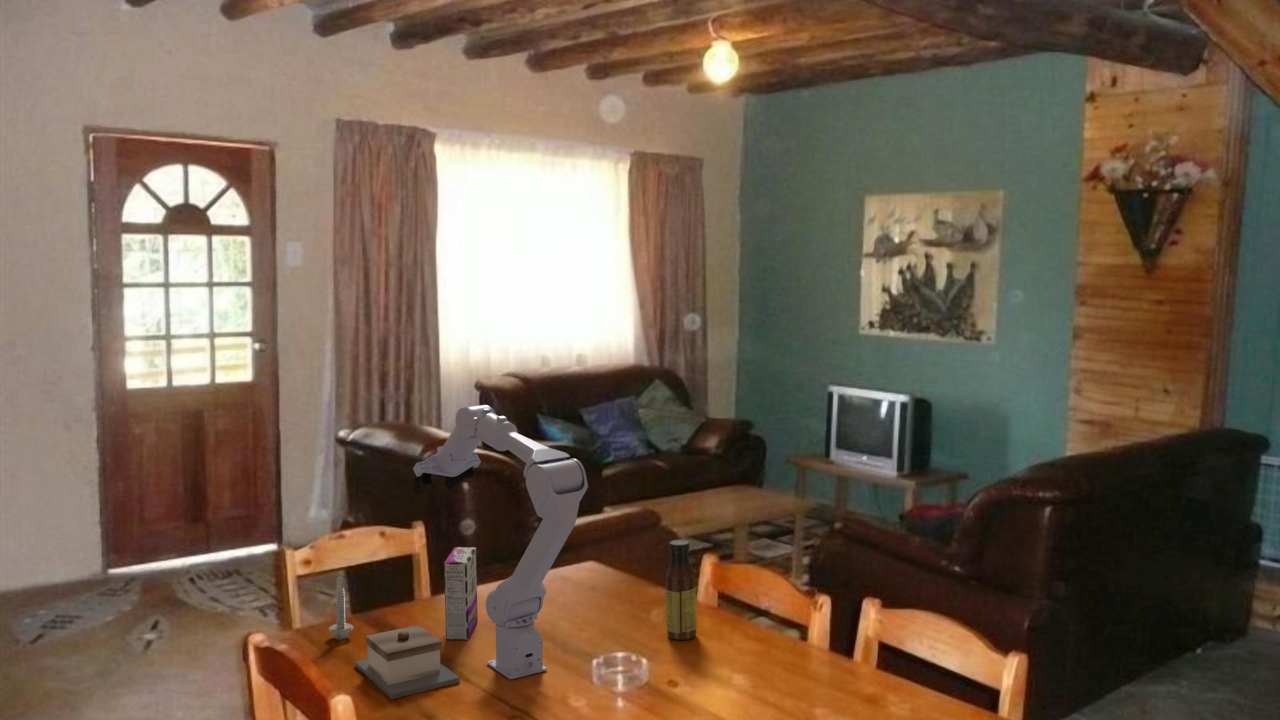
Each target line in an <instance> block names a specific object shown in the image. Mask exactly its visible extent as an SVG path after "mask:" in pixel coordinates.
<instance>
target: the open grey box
mask: <svg viewBox="0 0 1280 720" xmlns="http://www.w3.org/2000/svg"><path fill="white" fill-rule="evenodd" d="M367 659H368V668H370V669H371V670H372V671H373V672H374V673H375V674H377V675H378V676H379V677H380V678H381V679H382V680H383V681H385V682H386V683H387V684H388V685H392V684H396V683H400V682H404V681H408V680H412V679H416V678H421V677H425V676H429V675H433V674H437V673H440V663H441V650H437V651H432V652H428V653H424V654H419V655H415V656H410V657H406V658H402V659H397V660H393V661H388V662H387V661H386V660H385V659H384V658H382V657H381V656H380V655H379V654H378V653H376V652H375V651H374V650H373V649H372V648H370V647H369V646H368V645H367Z"/></svg>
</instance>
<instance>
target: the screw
mask: <svg viewBox="0 0 1280 720" xmlns="http://www.w3.org/2000/svg"><path fill="white" fill-rule="evenodd" d="M344 586H345V585H344V577H343V576H341V575H340V576H337V577H336V588H335V589H336V590H335V592H336V593H335V595H336V596H335V597H336V599H335V600H336V601H335V603H336V604H335V606H336V608H335V612H336V613H335V614H336V616H335V617H336V619H335V620H336V623H335V624H332V625H331V626H329V628H328V632H329V633H330V634H333V635H334V640H335V639H338V640H337V641H343V640H342V639H344V640H347V639H348V637H349V633H350V632H352V631H353V630H354V625H352V624H351V623H348V622H346V602H345V601H346V591H345V587H344ZM346 638H347V639H346Z"/></svg>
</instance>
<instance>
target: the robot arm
mask: <svg viewBox="0 0 1280 720" xmlns="http://www.w3.org/2000/svg"><path fill="white" fill-rule="evenodd" d="M481 442H483V443H485V444H486V445H488V446H489V447H491V448H493V449H494V450H496V451H498V452H505V451H509V452H511V454H513V455H515V456H516V457H517V458H519V459H520V461H521V460H522V461H523V462H524V463H526V464H525V467H524V470H523V477H524V478H525V485H526V489H527V492H528V495H529V497H530V500H531V502H532V505H533V507H534V510H535V513H536V516H538V517H539V518H541V519H542V520H541V522H540V524H539V526H538V527H537V529H536V531H535V533H534V535H533V537H532V538H531V540H530V542H529V544H528V546H527V548H526V549H525V550H524V553H523V555H522V556H521V559H520V561H519V562H518V564H517V566H516V567H515V569H514V572H513V573H512V575H511V576H509V577H508V578H506V579H504V580H503V581H501V582H500V583H498V584H497V586H496V588H495V589H494V590H492V591H490V592H489V593H488V594H487V597H486V600H485V610H486V613H487V616H488V618H489V619H490V621H491V622H492V623H493V624H495V659H491V660H488V661H487V663H486V664H487V665H489V667H491V668H492V669H494V670H496V671H497V672H498V673H500V674H502V676H504V677H506V678H507V679H509V680H514V679H519V678H522V677H527V676H529V675H530V676H531V675H534V674H537V673H542V672H546V671H547V670H548V668H547V667H546V666H545V665H544V663H543V661H544V659H543V658H544V656H543V652H544V648H543V647H544V645H543V644H544V643H543V641H544V640H543V637H542V634H541V633H540V632H538V630H537V629H536V627H535V621H536V620H538V614H539V613H540V612H541V611H542V609H543V605H544V599H545V595H546V594H547V590H546V587H545V584H544V583H543V582H544V580H545V578H546V576H547V574H548V573H549V571H550V569H551V567H552V566H553V564H554V563H555V560H556V558H557V557H558V556H559V553H560V552H561V550H562V548H563V547H564V545H565V543H566V541H567V539H568V538H569V536H570V534H571V533H572V531H573V529H574V527H575V525H576V521H577V517H578V514H579V513H578V512H579V507H580V502H581V500H582V498H583V497H584V496H585V493H586V492H587V490H588V488H589V485H588V479H587V474H586V473H587V472H586V470H585V468H584V465H583V464H582V463H581V461H580V460H578V459H577V458H570V457H571V455H570V454H569V453H567V452H564V451H561V450H558V449H555V448H551V447H548V446H546V445H543V444H542V443H539V442H538V441H535V440H533V439H531V438H529V437H526V436H524V435H522V434H521V433H518V429H517V427H516V425H515V424H513V423H512V422H510V421H509V420H508V418H507V417H506V416H505V415H498V414H497V413H496V412H495V410H494V408H492V407H491V406H489V405H487V404H481V405H480V404H479V405H472V406H464V407H460V408H459V409H458V410H457V412H456V414H455V427H453V430H452V431H451V433H450V434H449V436H448V437H447V439H446V441H445V443H444V444H443V445H442V446H439V447H437V448H436V453H435V454H433V455H431V456H429V457H428V458H426V459H423V460H416V461H415V463H414V464H413V468H412V469H413V472H414V481H413V487H412V490H413V492H414V494H415V496H416V497H419V496H420V495H422V494H423V493H424V492H425V491H426V490H427V488H428V487H429V486H431V485H433V484H435V482H434V480H433V478H432V475H437V476H438V475H439V476H443V477H446V478H445V480H444V485H445V487H446V490H447V491H452V490H454V488H456V487H457V486H458V485H460V484H461V483H464V481H466V480H469V479H472V478H474V476H475V475H476V473H475V470H474V469H473V468H475V469H476V468H479V465H480V464H481V463H482V461H481V459H480V458H479V455H478V454H473V453H474V452H475V450H476V449H477V448H478V446H479V444H480V443H481ZM567 458H568V459H567Z"/></svg>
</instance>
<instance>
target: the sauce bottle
mask: <svg viewBox="0 0 1280 720" xmlns="http://www.w3.org/2000/svg"><path fill="white" fill-rule="evenodd" d="M669 550H670V561H669V562H670V563H669V566H668V567H667V569H666V571H665V608H666V609H665V611H666V612H665V613H666V616H665V617H666V621H665V622H666V633H667V635H668V637H669V638H671V639H673V640H678V641H679V640H680V641H686V640H687V641H688V640H691V639H694V638H696V636H697V628H698V625H697V624H698V623H697V622H698V621H697V597H696V596H697V589H696V587H697V586H696V579H695V577H696V575H695V574H696V573H695V571H694V570H693V567H692V566H691V564H690V557H689V553H690V552H689V551H690V542H689V540H684V539H674V540H671V541H670V542H669Z"/></svg>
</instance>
